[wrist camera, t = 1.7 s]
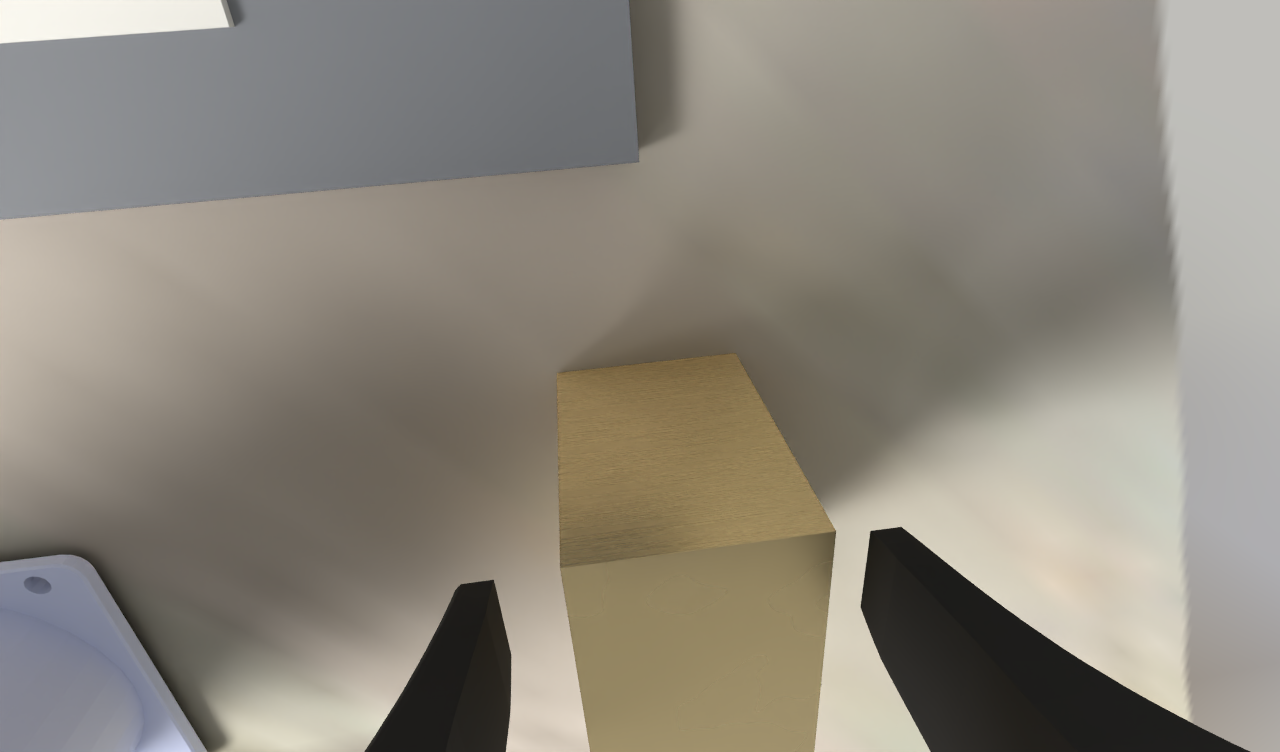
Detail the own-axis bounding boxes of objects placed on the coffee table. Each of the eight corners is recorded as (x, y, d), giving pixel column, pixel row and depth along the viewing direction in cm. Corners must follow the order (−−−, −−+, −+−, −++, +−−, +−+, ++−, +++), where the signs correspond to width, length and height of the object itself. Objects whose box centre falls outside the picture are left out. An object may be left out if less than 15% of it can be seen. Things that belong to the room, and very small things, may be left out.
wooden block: (585, 573, 17) (600, 810, 12) (556, 371, 15) (560, 568, 9) (734, 552, 18) (811, 776, 12) (734, 351, 15) (835, 531, 10)
